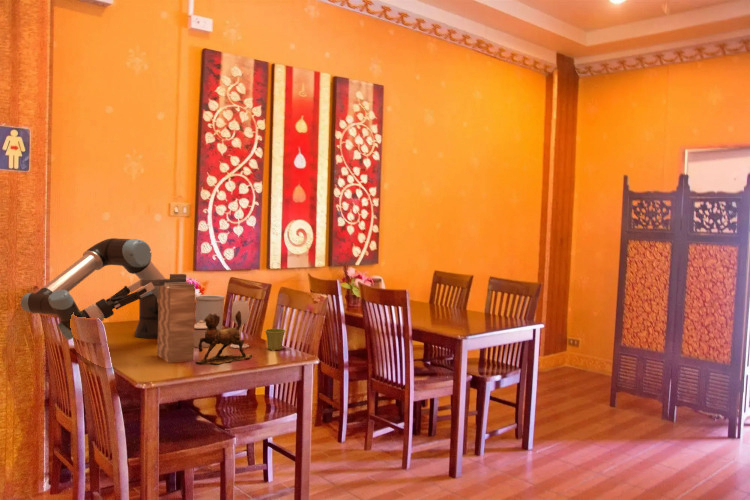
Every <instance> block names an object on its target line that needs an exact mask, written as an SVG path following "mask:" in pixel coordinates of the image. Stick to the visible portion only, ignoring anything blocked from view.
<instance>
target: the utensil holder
mask: <svg viewBox="0 0 750 500" xmlns="http://www.w3.org/2000/svg"><path fill="white" fill-rule="evenodd" d="M224 305H225V296H224V295H219V294H200V295H199V294H198V295H195V324H197V323H199V321H203V323H206V322H205V321H204V319H205V318H206V317H207V316H208V314H210V313H211V314H216V315H217V316H220V321H219V324H218V326H217V327H216V328H217V330H223V324H224V323H223V322H224V321H223V320H224Z"/></svg>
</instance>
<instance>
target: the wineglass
mask: <svg viewBox="0 0 750 500" xmlns="http://www.w3.org/2000/svg"><path fill="white" fill-rule="evenodd" d="M238 311H240V312H241V322H242V323H241V327H240V329H239V334H240V340H242V327H243V325H245V324H246V323H247V322H248V321H249V319H250V311H251V310H250V303H249V300H241V299H239V300H234V301H233V302H232V306H231V319H232V321H233V323H234V324H236V325H238V323H237V321H236V318H235V315H236V314H237V312H238ZM229 346H230V348H234V349H239V345H234V344H232V343H231V344H230V345H229ZM249 347H250V345H249V344H247V343H245V342H244V343H243V346H242V349H246V348H249Z"/></svg>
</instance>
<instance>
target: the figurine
mask: <svg viewBox="0 0 750 500" xmlns="http://www.w3.org/2000/svg"><path fill="white" fill-rule="evenodd" d="M235 318H236V321H237V323H238V325H237V324H236V325H237V326H236V327H227V328H224V329H221V330H217V328H216V327H217V326H218V324H219V321H220V316H217V315H216V314H211V313H210V314H208V316H207V317H206V318H205V319H204V321H205V322H206V326H207V330H206V332H205V338H203V337H202V338H200V343H199V348H198V352H200V353H202V352H203V348H201V347H202V342H205V343H207V344H210V346H209V347H208V349H207V351H206V353H205V355H204V357H203V359H200V360H196V361H195V364H196V365H213V366H219V365H223V364H230V363H232V362H240V361H246V360H250V359H251V358H253V354H251V353H250V354H246V352H245V351H244V348H242V346H243V343H244V344H245V340H244V339H241V340H240V334H239V329H240V327H241V323H242V322H241V312H240V311H238V312H237V314H236V315H235ZM241 328H242V327H241ZM232 344H234V345H239V348H238V349H239V352H240V354H238V355H234V354H230V355H223V354H222V353H223V351H224V349H226V348H227V347H229V346H230V345H232ZM217 345H222V346H221V348H220V349H219V350H218V351H217V354H216V355H213V356H211V357H210V358H208V357H209V354H210V353H211V351H212V350H213V349H214V348H215V347H216V346H217Z"/></svg>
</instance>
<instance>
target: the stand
mask: <svg viewBox="0 0 750 500" xmlns="http://www.w3.org/2000/svg"><path fill="white" fill-rule="evenodd" d="M195 322H196V287H195V283H189V282H188V281H186V282H173V283H164V286H159V303H158V338H157V343H156V345H157V350H156V351H157V352H156V354H157V355H156V356H158V357H160V358H161V359H162V360H164V361H166V362H167V363H168V362H169V363H168V364H171V363H172V362H173V363H180V362H191V361H194V358H195V357H194V355H195V353H194V352H195V350H194V349H195V347H194V325H195Z"/></svg>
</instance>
